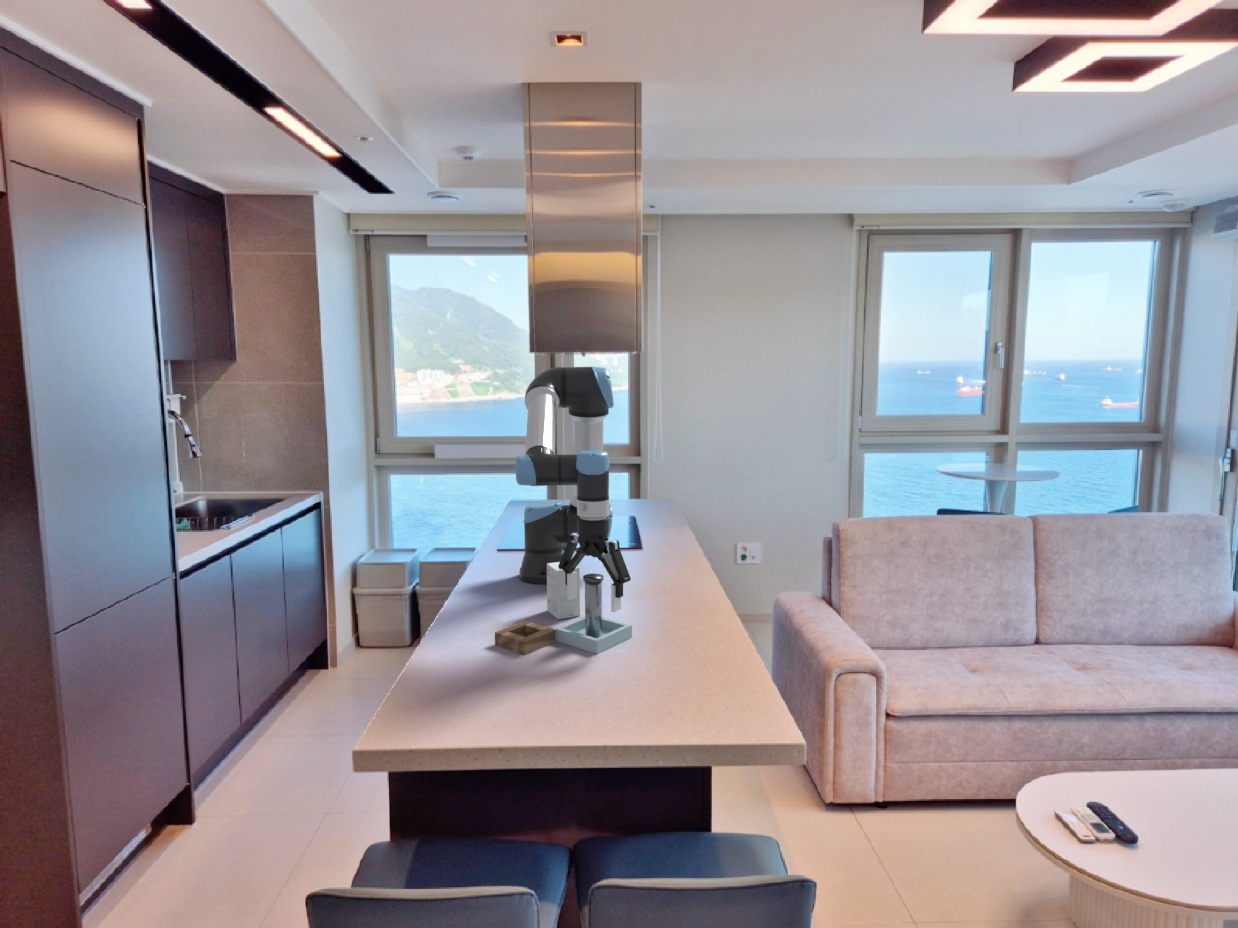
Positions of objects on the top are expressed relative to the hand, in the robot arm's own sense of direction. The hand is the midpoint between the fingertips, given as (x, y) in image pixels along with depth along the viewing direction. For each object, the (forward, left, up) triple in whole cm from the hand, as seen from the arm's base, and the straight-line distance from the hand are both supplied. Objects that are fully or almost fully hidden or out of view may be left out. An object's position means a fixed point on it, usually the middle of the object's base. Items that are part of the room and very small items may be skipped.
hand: (593, 604), depth 179 cm
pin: (0, 0, -8) cm, 8 cm away
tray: (0, 0, -8) cm, 8 cm away
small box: (-18, +9, -9) cm, 22 cm away
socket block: (-11, -12, -8) cm, 18 cm away
